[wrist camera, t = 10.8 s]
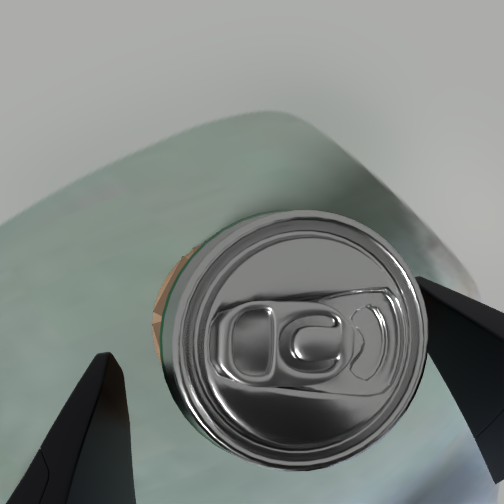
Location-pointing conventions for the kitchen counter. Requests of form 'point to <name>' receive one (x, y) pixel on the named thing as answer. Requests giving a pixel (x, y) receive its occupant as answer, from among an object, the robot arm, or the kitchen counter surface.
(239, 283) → the soda can
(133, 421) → the kitchen counter surface
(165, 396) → the kitchen counter surface
